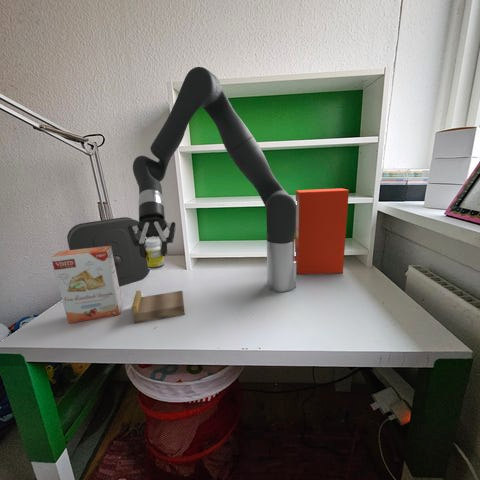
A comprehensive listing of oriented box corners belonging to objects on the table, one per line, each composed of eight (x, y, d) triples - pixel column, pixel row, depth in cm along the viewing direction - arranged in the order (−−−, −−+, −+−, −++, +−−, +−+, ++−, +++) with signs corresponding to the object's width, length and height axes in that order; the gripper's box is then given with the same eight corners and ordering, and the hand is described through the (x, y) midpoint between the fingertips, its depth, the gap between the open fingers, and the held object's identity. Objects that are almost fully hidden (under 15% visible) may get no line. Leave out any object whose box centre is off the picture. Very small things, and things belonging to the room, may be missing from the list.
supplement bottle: (147, 265, 75) (143, 238, 72) (164, 263, 76) (160, 236, 74) (148, 271, 70) (143, 243, 68) (165, 268, 72) (161, 240, 69)
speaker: (146, 271, 108) (137, 215, 101) (153, 277, 102) (144, 217, 95) (79, 291, 93) (63, 225, 86) (83, 299, 87) (66, 229, 80)
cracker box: (67, 325, 72) (49, 256, 66) (75, 314, 78) (58, 250, 72) (120, 315, 75) (106, 250, 70) (123, 305, 81) (111, 244, 75)
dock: (183, 298, 84) (181, 284, 82) (184, 314, 74) (182, 298, 73) (139, 306, 80) (136, 291, 79) (134, 323, 71) (131, 306, 69)
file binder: (343, 273, 97) (348, 189, 88) (298, 274, 98) (299, 192, 89) (336, 265, 104) (340, 188, 96) (294, 267, 105) (295, 190, 97)
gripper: (124, 201, 73) (123, 253, 65) (174, 198, 77) (179, 247, 69) (129, 216, 80) (129, 264, 72) (175, 213, 83) (180, 258, 75)
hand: (154, 256), depth 70 cm, fingers closed on supplement bottle, 4 cm apart
